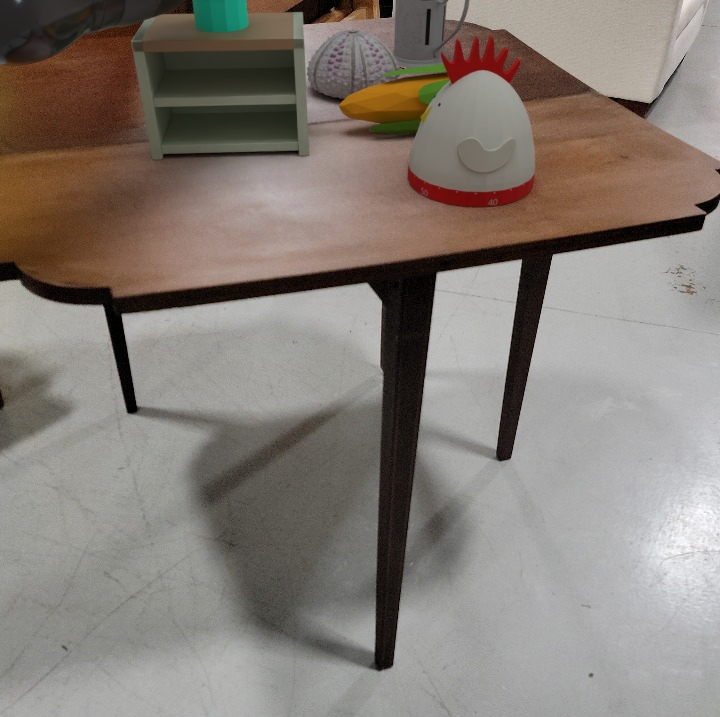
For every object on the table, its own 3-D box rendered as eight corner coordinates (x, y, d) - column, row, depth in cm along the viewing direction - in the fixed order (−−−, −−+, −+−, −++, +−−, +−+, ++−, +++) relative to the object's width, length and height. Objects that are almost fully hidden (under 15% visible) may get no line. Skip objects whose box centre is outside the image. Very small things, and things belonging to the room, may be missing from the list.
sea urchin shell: (348, 112, 99) (348, 50, 94) (287, 88, 107) (284, 29, 102) (417, 91, 106) (420, 32, 101) (356, 70, 114) (356, 15, 109)
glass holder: (419, 51, 122) (425, -50, 113) (481, 71, 114) (492, -37, 104) (379, 60, 118) (381, -44, 109) (440, 82, 109) (448, -30, 100)
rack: (152, 159, 86) (130, 40, 78) (165, 123, 95) (148, 14, 87) (309, 155, 87) (304, 38, 79) (307, 120, 96) (302, 11, 88)
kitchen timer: (400, 157, 87) (405, 21, 77) (514, 153, 88) (532, 18, 78) (418, 209, 76) (427, 58, 66) (548, 204, 77) (574, 54, 68)
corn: (504, 67, 89) (346, 81, 84) (499, 130, 93) (348, 146, 89) (479, 55, 95) (330, 67, 90) (475, 115, 99) (333, 129, 95)
